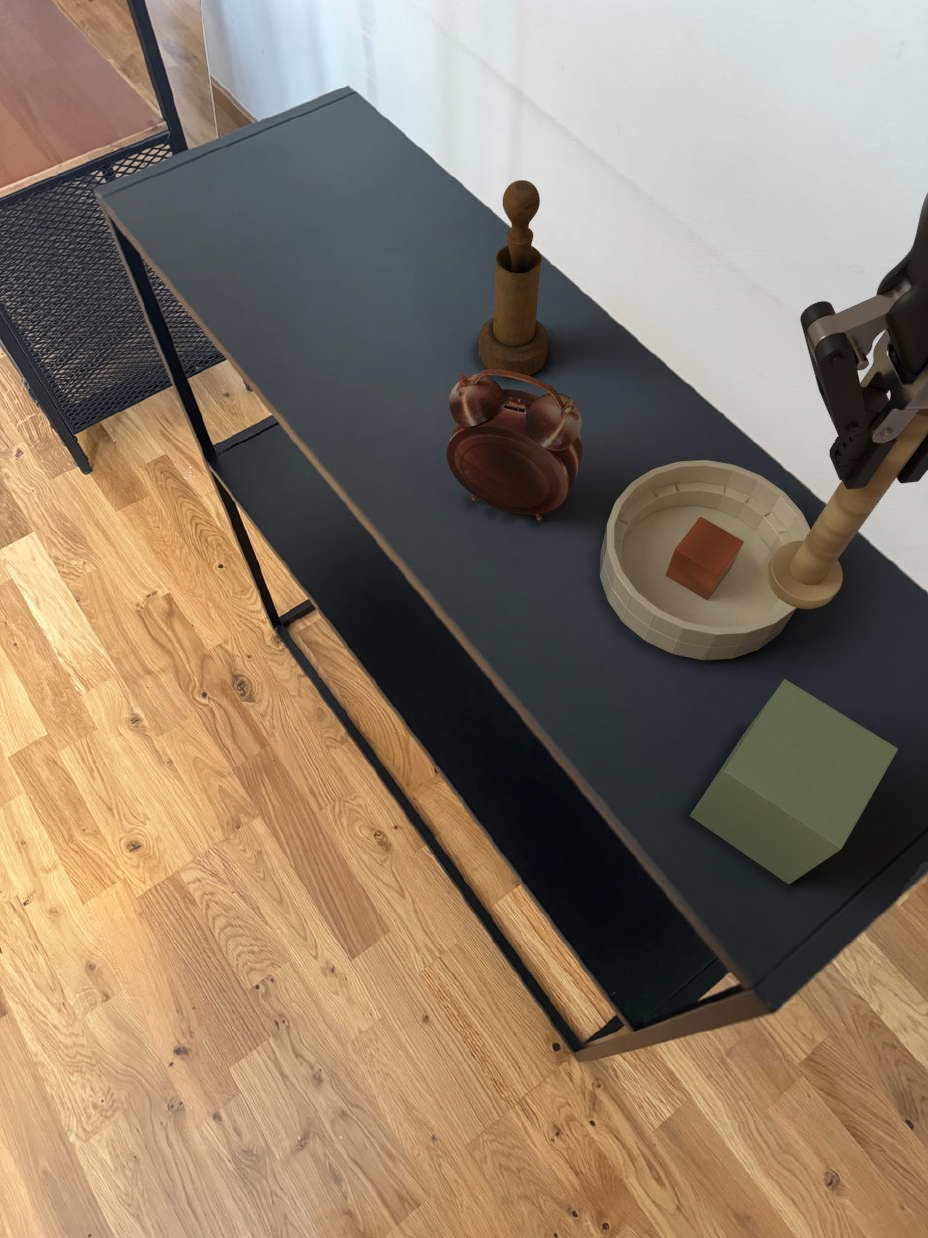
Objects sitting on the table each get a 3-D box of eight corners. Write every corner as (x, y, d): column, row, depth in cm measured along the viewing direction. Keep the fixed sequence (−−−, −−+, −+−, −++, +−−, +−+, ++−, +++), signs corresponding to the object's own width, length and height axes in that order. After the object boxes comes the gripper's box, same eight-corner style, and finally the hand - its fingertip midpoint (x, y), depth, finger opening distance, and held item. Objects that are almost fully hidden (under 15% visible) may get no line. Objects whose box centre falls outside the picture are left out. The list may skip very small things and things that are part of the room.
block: (731, 567, 73) (744, 540, 70) (707, 601, 72) (719, 575, 68) (689, 543, 74) (700, 515, 71) (664, 575, 73) (674, 548, 69)
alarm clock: (578, 494, 78) (599, 371, 64) (561, 537, 75) (580, 418, 62) (462, 460, 80) (460, 333, 66) (442, 501, 77) (436, 378, 64)
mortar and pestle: (559, 346, 86) (578, 177, 70) (525, 389, 84) (537, 223, 68) (500, 320, 88) (507, 149, 72) (466, 361, 85) (464, 193, 69)
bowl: (830, 559, 74) (852, 525, 70) (733, 701, 68) (751, 674, 64) (664, 466, 79) (676, 429, 75) (560, 591, 73) (566, 559, 69)
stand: (840, 796, 64) (898, 748, 56) (788, 885, 62) (841, 849, 53) (743, 733, 67) (784, 678, 58) (689, 816, 64) (723, 771, 55)
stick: (848, 573, 51) (986, 391, 37) (817, 622, 49) (949, 451, 36) (785, 537, 52) (898, 348, 38) (753, 584, 50) (858, 404, 37)
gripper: (943, 217, 24) (755, 554, 39) (1407, 174, 25) (1047, 520, 40) (849, 57, 28) (710, 424, 43) (1260, 24, 29) (980, 395, 44)
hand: (874, 469), depth 42 cm, fingers closed on stick, 2 cm apart
